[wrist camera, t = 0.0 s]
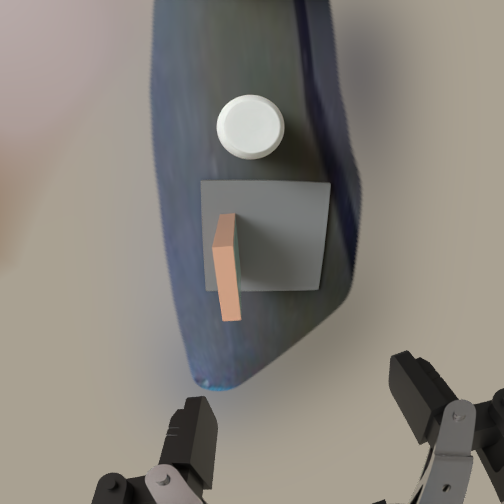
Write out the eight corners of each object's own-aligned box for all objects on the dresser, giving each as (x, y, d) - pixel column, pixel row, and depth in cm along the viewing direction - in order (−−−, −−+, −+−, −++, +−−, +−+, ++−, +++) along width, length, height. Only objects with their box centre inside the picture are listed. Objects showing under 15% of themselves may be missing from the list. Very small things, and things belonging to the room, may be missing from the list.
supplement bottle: (227, 99, 26) (220, 83, 17) (279, 108, 26) (297, 97, 17) (218, 149, 28) (207, 157, 19) (269, 158, 28) (283, 169, 19)
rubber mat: (201, 179, 29) (200, 180, 28) (329, 182, 29) (330, 183, 29) (206, 288, 34) (205, 290, 33) (317, 287, 35) (318, 289, 34)
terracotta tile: (226, 273, 33) (222, 321, 24) (219, 214, 30) (212, 247, 22) (241, 272, 33) (241, 320, 24) (235, 213, 30) (233, 245, 22)
